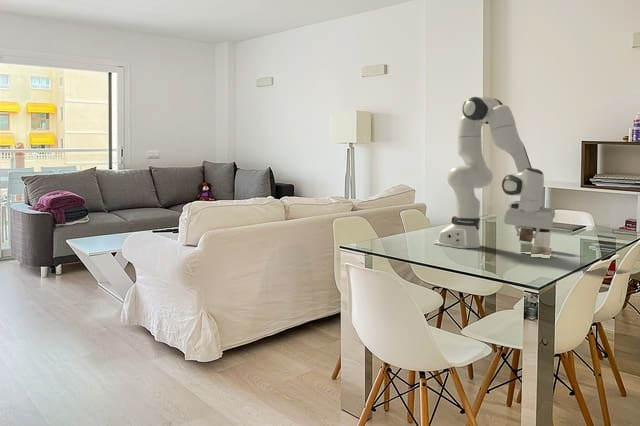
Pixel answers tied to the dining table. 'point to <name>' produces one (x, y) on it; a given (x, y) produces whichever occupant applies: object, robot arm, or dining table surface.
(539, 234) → the jar
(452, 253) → the dining table surface
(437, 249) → the dining table surface
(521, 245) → the sage cube
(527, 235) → the walnut cube
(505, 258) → the dining table surface
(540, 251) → the maple slab
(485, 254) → the dining table surface
